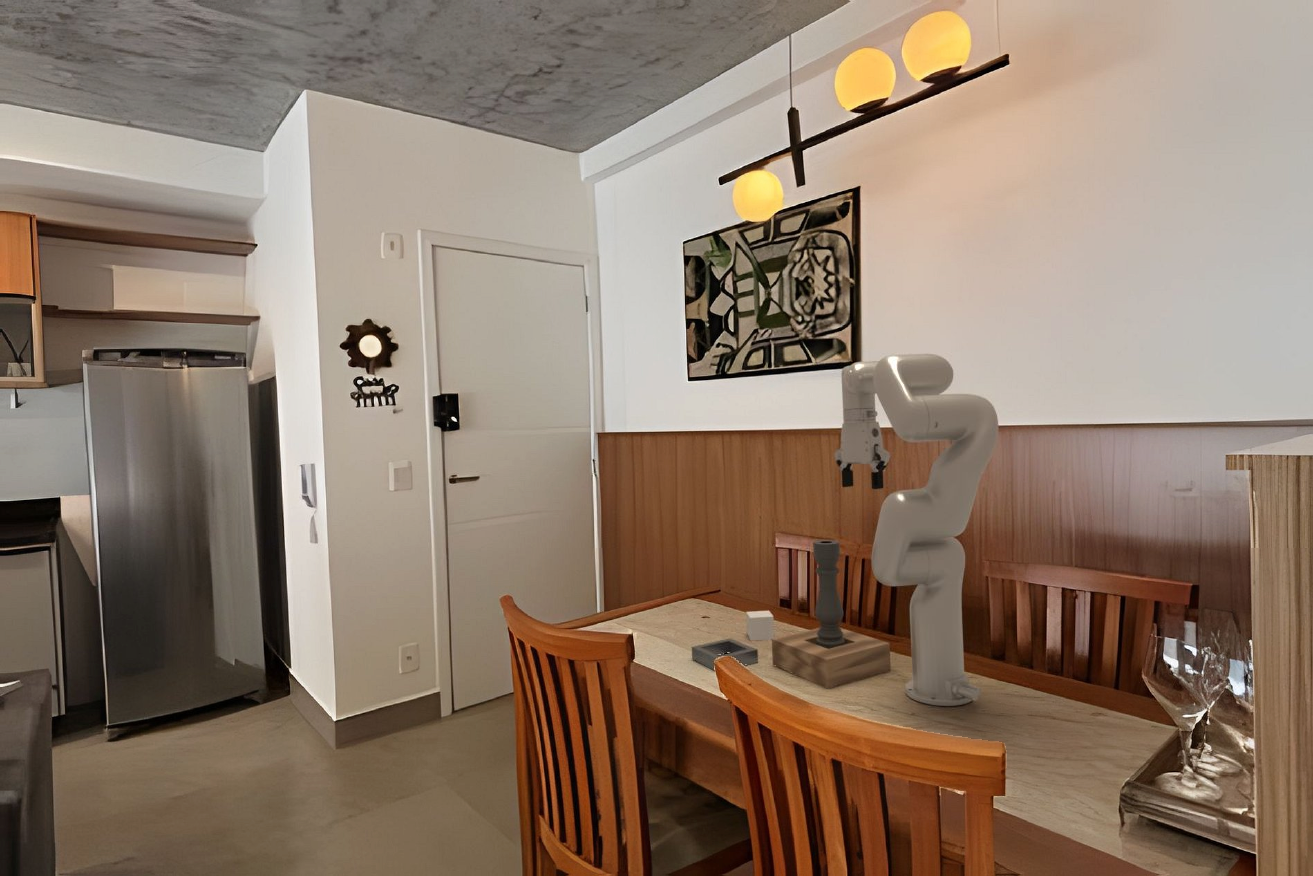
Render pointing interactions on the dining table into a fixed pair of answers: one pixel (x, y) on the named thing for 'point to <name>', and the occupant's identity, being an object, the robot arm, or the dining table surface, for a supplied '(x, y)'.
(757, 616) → the white cube
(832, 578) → the candle holder
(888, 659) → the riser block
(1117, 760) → the dining table surface
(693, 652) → the metal collar
